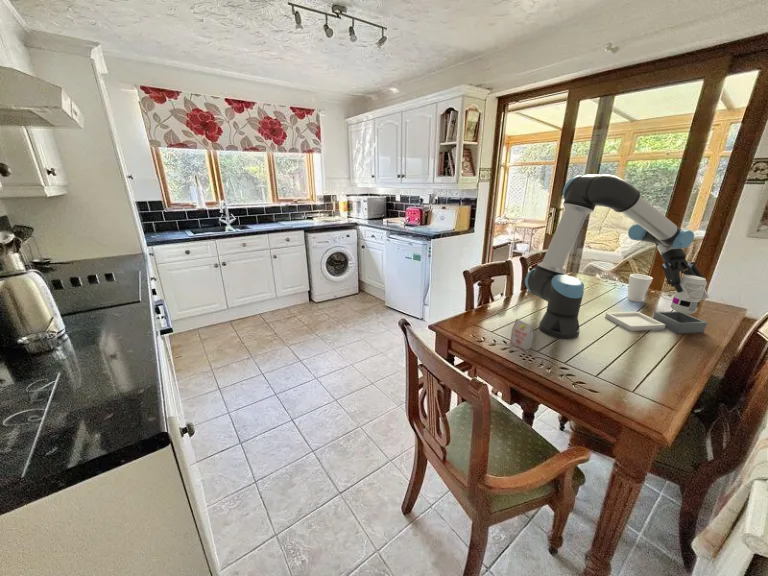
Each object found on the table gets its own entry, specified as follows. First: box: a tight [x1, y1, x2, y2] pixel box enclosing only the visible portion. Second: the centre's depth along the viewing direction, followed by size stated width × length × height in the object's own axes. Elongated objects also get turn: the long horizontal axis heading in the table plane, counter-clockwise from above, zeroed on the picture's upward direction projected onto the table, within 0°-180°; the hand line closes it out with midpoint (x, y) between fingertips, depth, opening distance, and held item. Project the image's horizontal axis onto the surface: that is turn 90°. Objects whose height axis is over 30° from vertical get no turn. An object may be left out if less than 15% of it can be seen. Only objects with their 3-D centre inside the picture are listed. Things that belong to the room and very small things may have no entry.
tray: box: [604, 311, 665, 332], centre depth 140 cm, size 16×14×2 cm
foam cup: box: [626, 273, 654, 303], centre depth 165 cm, size 10×9×13 cm
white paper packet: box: [509, 318, 534, 351], centre depth 121 cm, size 4×7×10 cm, turn 30°
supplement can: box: [670, 274, 708, 315], centre depth 132 cm, size 8×8×15 cm
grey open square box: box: [652, 310, 708, 334], centre depth 136 cm, size 12×12×4 cm
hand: (695, 298), depth 129 cm, fingers closed on supplement can, 8 cm apart
